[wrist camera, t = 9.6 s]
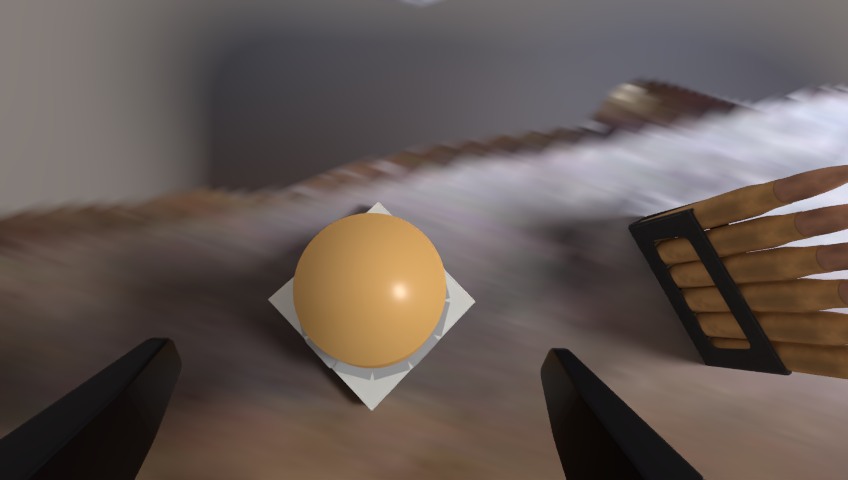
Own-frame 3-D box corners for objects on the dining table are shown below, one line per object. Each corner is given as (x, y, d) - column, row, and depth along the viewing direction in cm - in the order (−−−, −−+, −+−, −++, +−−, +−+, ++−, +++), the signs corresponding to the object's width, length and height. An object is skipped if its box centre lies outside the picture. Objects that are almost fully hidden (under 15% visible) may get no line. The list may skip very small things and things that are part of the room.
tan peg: (416, 367, 21) (479, 455, 8) (306, 346, 20) (187, 404, 8) (437, 260, 22) (518, 191, 9) (334, 237, 22) (274, 133, 9)
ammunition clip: (627, 226, 26) (836, 154, 14) (647, 216, 26) (867, 138, 14) (706, 366, 24) (1012, 418, 13) (726, 353, 25) (1041, 392, 13)
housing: (372, 405, 21) (370, 421, 18) (274, 300, 22) (256, 298, 18) (470, 302, 23) (484, 300, 20) (378, 207, 23) (378, 191, 20)
